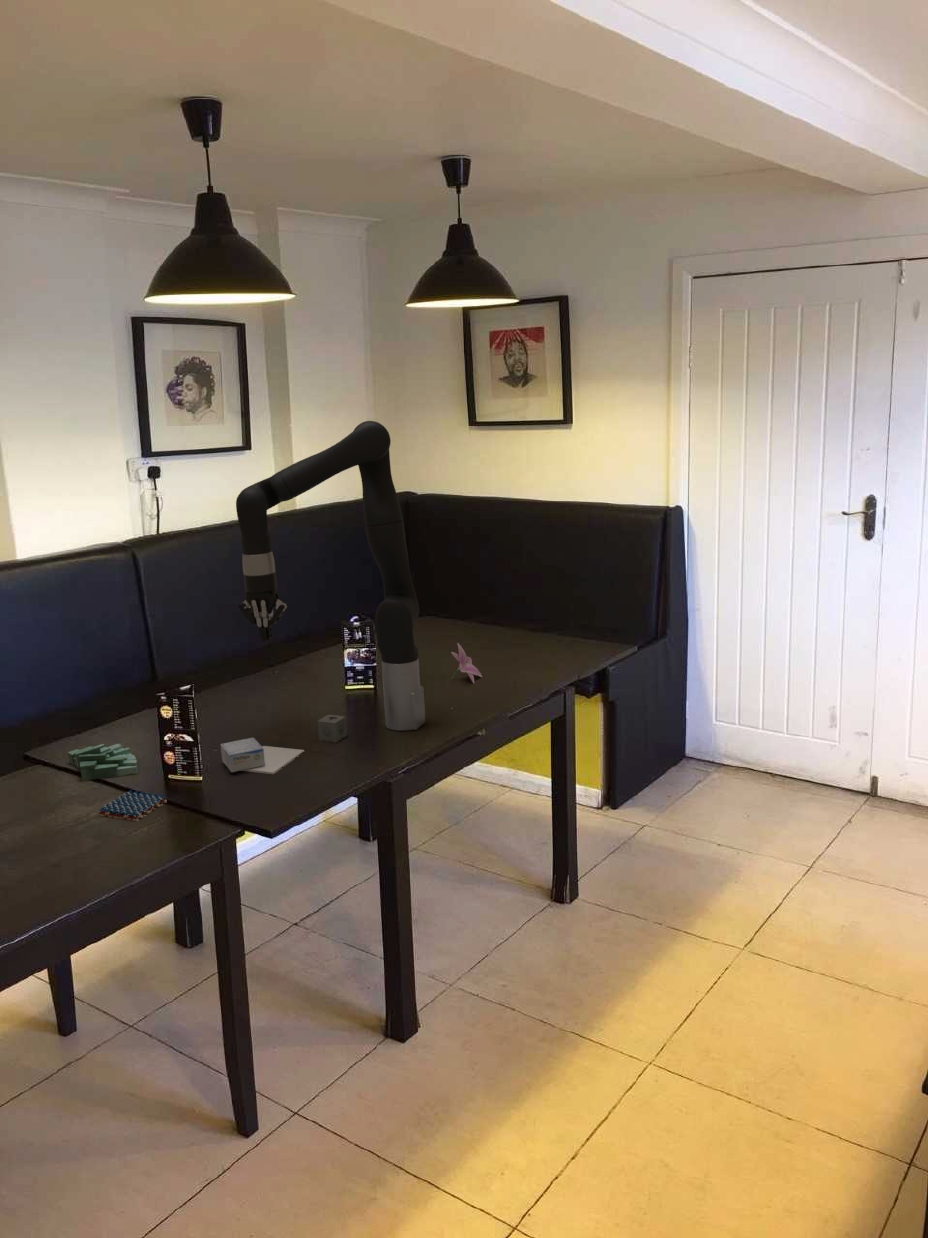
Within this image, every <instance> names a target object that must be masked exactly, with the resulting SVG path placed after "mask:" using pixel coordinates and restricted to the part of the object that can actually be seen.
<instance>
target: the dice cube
mask: <svg viewBox="0 0 928 1238" xmlns="http://www.w3.org/2000/svg"><path fill="white" fill-rule="evenodd" d="M316 722H317V731H318V732H317V733H318V741H321V740H325V741H324V742H329V741H333V742H332V743H336V742H337V741H338V742H340V741H341V740H343V739H345V738H346V737H347V736H348V728H347V717H346V715H336V714H327V715H325V716H323V717H322V718H320V719H318V720H317V721H316ZM342 738H343V739H342ZM339 740H340V741H339ZM338 742H337V743H338Z"/></svg>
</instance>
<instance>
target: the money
mask: <svg viewBox="0 0 928 1238" xmlns="http://www.w3.org/2000/svg"><path fill="white" fill-rule="evenodd" d="M67 755H68V760H69V764H71V765H73V766H76V768H77V769H79V770H80V769H81V770H80V775H81V780H82V781H84V782H85V781H90V780H98V779H99V780H100V779H107V778H114V777H123V776H129V775H137V774H138V773H139V769H138V760H137V757H136V756H135V754H132V753H131V751H130V747H125V748H124V747H123V745H121V744H120V743H116V744H113V745H110V746H108V747H107V746H106V745H105V744H104V743H101V744H98V745H95V746H91V745H89V746H88V747H84V748H82V749H77V748H76V749H74V750H70V751H68V752H67Z"/></svg>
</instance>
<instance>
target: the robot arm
mask: <svg viewBox="0 0 928 1238" xmlns="http://www.w3.org/2000/svg"><path fill="white" fill-rule="evenodd" d="M390 446H391V435H390V432H389V430H388V429H387V428H386V427H385V426H384V425H383V424H381V423H380V422H378V421H374V420H366V421H362V422H360V423H359V424H358V425H357V426H355V428H354V429H353V431H351V432H350V433H349V434H348V435H347V436H345V437H344V438H343V439H341V440H340V441H338V442H336V443H335V444H333V445H331V446H330V447H328V448H326V449H324V450H321V451H320V452H318V453H315V454H313V455H311V456H308V457H306V458H303V459H301V460H299V461H296V462H294V463H293V464H290V465H289V466H287V467H285V468H282V469H281V470H279V471H277V472H276V473H274V474H273V475H271V476H270V477H267V478H265V479H263V480H260V481H257V482H255V483H253V484H251V485H249V486H246V487H245V488H244V489H242V490H240V492H239V494H238V495H237V497H236V501H235V509H236V515H237V521H238V522H237V523H238V525H239V526H238V527H239V530H240V541H241V543H240V545H241V551H242V553H241V554H242V562H241V563H242V571H243V572H242V573H243V579H244V580H243V581H244V589H245V590H244V591H245V592H246V595H245V600H244V601H242V602H241V603H239V604H238V605H237V606H238V607H237V608H238V609H239V610H240V611H241V613H242V615H244V617H245V618H246V619H247V620H248V621H249V622H250V624H251V625H256V626H257V627H258V631H259V633H258V634H259V638H260V640H261V641H262V642H263V643H265V642H266V643H269V642H271V641H272V639H273V638H274V634H273V633H274V631H273V625H275V624H277V623H279V622H280V621H281V619H282V617H283V616H284V614H285V612H286V610H287V609H288V607H289V604H288V603H287V602H283V601H282V600H280V595H279V594H278V593H277V591H278V590H277V589H278V585H277V575H276V573H277V571H276V564H275V558H274V553H273V547H272V546H273V545H272V537H271V532H270V530H269V525H268V522H269V521H268V512H267V511H268V510H270V509H271V508H273V507H276V506H277V505H279V504H280V503H283V502H287V501H289V500H292V499H294V498H296V497H298V496H300V495H302V494H304V493H306V492H308V491H310V490H312V489H314V488H315V487H318V485H320V484H322V483H324V482H325V481H327V480H329V479H330V478H332V477H334V476H336V475H337V474H340V473H342V472H344V471H346V470H349V469H351V468H353V467H356V466H358V470H359V473H360V479H361V486H362V487H361V488H362V510H363V520H364V529H365V532H366V539H367V544H368V546H369V550H370V552H371V554H372V556H373V558H374V561H375V562H376V564H377V566H378V569H379V571H380V574H381V578H382V585H383V593H384V597H383V601H381V602H380V603H379V604H378V606H377V608H376V611H375V619H374V620H375V631H376V632H375V633H376V641H377V647H378V648H377V649H378V651H379V654H380V656H381V658H380V659H381V660H380V661H381V672H382V673H381V674H382V690H383V703H384V705H383V707H384V721H385V727H386V728H387V729H389V730H391V731H397V732H398V731H400V732H401V731H414V730H415V731H416V730H418V729H419V728H420V727H421V726H423V725H424V724H425V723H426V709H425V708H426V707H425V691H424V686H423V685H421V678H420V677H421V676H420V662H419V661H420V660H419V657H420V656H419V654H420V653H419V647H418V646H417V645H416V644H415V639H414V628H413V626H414V624H416V623H417V621H418V619H419V615H420V607H419V602H418V597H417V594H416V590H415V587H414V582H413V579H412V575H411V570H410V563H409V552H408V547H407V546H408V545H407V540H406V531H405V524H404V518H403V513H402V509H401V504H400V501H399V497H398V495H397V491H396V488H395V485H394V481H393V475H392V471H391V470H392V469H391V467H392V466H391V459H390V455H391V454H390V448H391V447H390ZM275 609H276V611H275V612H274V610H275Z"/></svg>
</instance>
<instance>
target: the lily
mask: <svg viewBox="0 0 928 1238" xmlns="http://www.w3.org/2000/svg"><path fill="white" fill-rule="evenodd" d="M457 647H458V648H457V650H458V654H457V652H455V651H451V654H452V656H453V657H454V658H455V659H456V660H457V662H458V669H457V670H456V671H455V672H454V674H453V675H452V677H451V678H450V680H453V678H454V677H455V675H456V674H457V673H458V671H459V670H460V672H461V673H466V674H467V675H468V676H469V679H470V680H471V682H472V684H475V677H474V675H475V676H479V677H480V678H482V677H483V676H482V673H481V672H480V670H479V669H478V668H477V667H476V665H473V662H472V658H471V657H470V656H467V654H466V652H465V649H463V647H462V645H460V643H459V642H457Z"/></svg>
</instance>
